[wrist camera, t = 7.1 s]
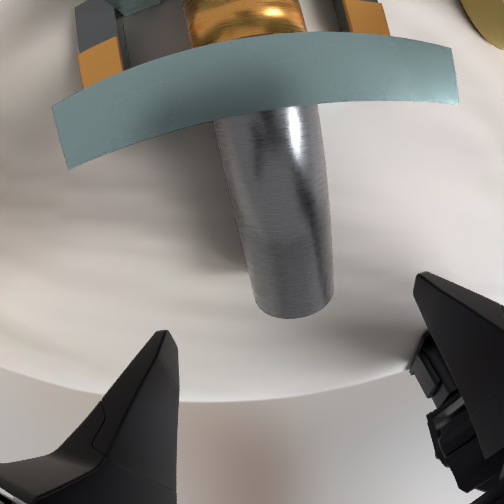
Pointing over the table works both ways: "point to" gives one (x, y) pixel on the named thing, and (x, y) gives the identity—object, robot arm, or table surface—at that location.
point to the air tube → (273, 170)
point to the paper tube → (487, 19)
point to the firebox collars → (237, 76)
